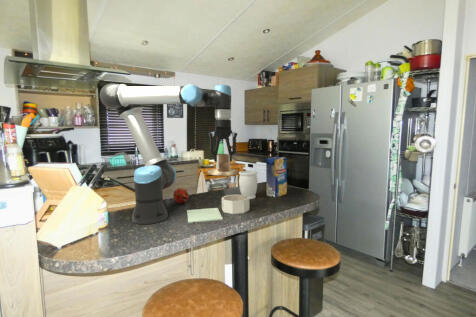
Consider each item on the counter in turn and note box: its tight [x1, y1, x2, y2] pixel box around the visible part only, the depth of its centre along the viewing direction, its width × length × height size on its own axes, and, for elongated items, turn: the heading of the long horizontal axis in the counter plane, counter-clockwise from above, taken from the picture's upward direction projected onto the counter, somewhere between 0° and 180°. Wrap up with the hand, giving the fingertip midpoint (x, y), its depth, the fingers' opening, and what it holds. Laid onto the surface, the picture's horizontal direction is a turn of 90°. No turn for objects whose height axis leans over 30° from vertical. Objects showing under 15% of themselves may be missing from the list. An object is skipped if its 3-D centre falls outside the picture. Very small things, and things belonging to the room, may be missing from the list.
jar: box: [238, 170, 258, 200], centre depth 156 cm, size 11×10×15 cm
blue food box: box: [265, 156, 288, 198], centre depth 161 cm, size 7×11×22 cm, turn 134°
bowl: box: [221, 194, 250, 215], centre depth 133 cm, size 13×13×6 cm
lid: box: [207, 153, 239, 177], centre depth 129 cm, size 14×14×9 cm
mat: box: [186, 207, 224, 224], centre depth 125 cm, size 15×17×1 cm
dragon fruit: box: [172, 187, 191, 205], centre depth 148 cm, size 8×8×12 cm
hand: (222, 168), depth 129 cm, fingers closed on lid, 5 cm apart
